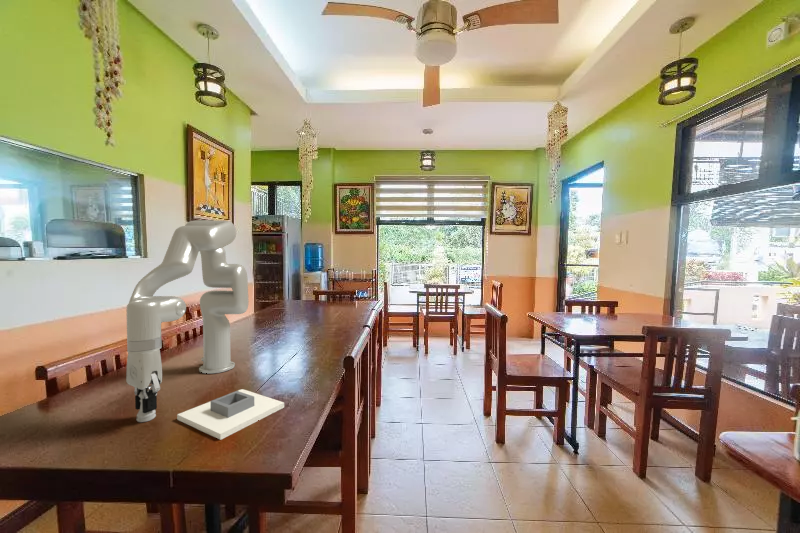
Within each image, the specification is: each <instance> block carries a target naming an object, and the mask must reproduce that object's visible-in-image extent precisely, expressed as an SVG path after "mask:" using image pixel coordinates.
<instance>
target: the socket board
mask: <svg viewBox="0 0 800 533" xmlns="http://www.w3.org/2000/svg"><path fill="white" fill-rule="evenodd" d="M283 408H285V402H284V401H281V400H277V399H274V398H271V397H268V396H265V395H263V394H262V395H261V394H259V393H256V392H253V391H250V390H247V389H243V388H242V389H238V390H236V391H233V392H230V393H228V394H225V395H223V396H220V397H217V398H215V399H212V400H210V401H207V402H206V403H203V404H200V405H198V406H195V407H192V408H190V409H187V410H185V411H182V412H180V413H176V414H177V415H176V417H177V418H176V419H177V421H179V422H180V423H181V422H182V423H184V424H185V425H187V426H190V427H192V428H194V429H196V430H198V431H200V432H203V433H205V434H207V435H209V436H211V437H213V438H215V439H216V438H217V439H218V440H221V441H222V440H223V439H225V438H227V437H229V436H231V435H233V434H235V433H237V432H239V431H241V430H243V429H245V428H247V427H248V426H251V425H253V424H255V423H256V422H259V421H261V420H263V419H264V418H266V417H268V416H270V415H273V414H274V413H276V412H278V411H280V410H282V409H283ZM258 420H259V421H258Z"/></svg>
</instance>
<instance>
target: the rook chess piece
mask: <svg viewBox="0 0 800 533" xmlns="http://www.w3.org/2000/svg"><path fill="white" fill-rule="evenodd" d="M151 389H152V388H150V389H148V391H149V390H151ZM139 397H140V398H141V400H140V402H141V405H140V409H138V412H137V414H136V420H135V421H137V423H147V422H150V421H152V420H154V419H155V418H156V417H157V414H156V412H157V411H156V409H155V410H153V411H150V412H147V413H143V408H142V399H144V392H143V390H142V391H141V392H140V394H139Z"/></svg>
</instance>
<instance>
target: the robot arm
mask: <svg viewBox="0 0 800 533" xmlns="http://www.w3.org/2000/svg"><path fill="white" fill-rule="evenodd" d="M236 236H237V229H236V225H235V224H234V223H233V222H232V221H228V220H205V219H203V220H202V219H198V220H190V221H188V222H187V223H185V224H184V225H182V226H179V227H177V228H176V229H175V230H174V231H173V234H172V236H171V240H170V241H169V244H168V247H167V250H166V252H165V254H164V257H163V260H162V262H161V263H160V264H159V265H157V266H156V267H154V268H153V269H152V270H150V271H149V272H148V273H147V274H145V275H144V276H143V277H142V278H141V279H140V280H139V281H138V282H137V284H136V285H135V287H134V289H133V291H132V294H131V297H130V298H129V301H128V303H127V305H126V344H127V345H126V346H127V347H126V350H127V351H126V352H127V357H126V358H127V359H126V376H125V377H126V378H125V379H126V380H125V381H126V383H127V385H129V386H130V387H131V386H132V387H133V388H134V391H133V392H134V398H135V401H134V402H135V404H134V405H135V410H136V411H139V410H140V405H141V402H140V400H141V398H140V397H139V394H140V392H141V391H142V390H143V392H144V399H142V408H143V413H147V412H150V411H153V410H155V411H156V410H157V409H158V405H157V403H158V401H157V400H158V399H157V398H158V392H159V391H161V384H162V382H163V365H162V356H161V350H160V349H162V345H163V344H162V323H167V322H168V323H169V322H175V321H177V320H179V319H181V318H182V317H183V316H184V315H185V313H186V312H187V303H186V302H185V301H184V299H183V298H181V297H178V296H174V295H173V296H172V295H171V296H170V295H169V296H168V295H166V296H165V295H163V296H162V295H161V296H160V295H155V293H156V292H157V290H159V289H160V288H161V287H163V286H164V285H166V284H168V283H170V282H173V281H175V280H178V279H180V278H185V277H186V276H188V275H190V274H191V273H192V272H193V270H194V267H195V263H196V261H197V257H198V254H200V260H201V273H202V282H203V284H204V286H206V287H208V288H212V289H213V288H216V289H217V288H218V289H221V288H222V289H223V288H224V289H225V288H228V289H231V290H208V291H206V292H204V293H203V294H201V296H200V298H199V307H200V308H199V309H200V311H201V316H202V331H203V332H202V333H203V334H202V335H203V336H202V337H203V340H202V341H203V342H202V343H203V345H202V347H203V356H202V357H201V358H200V360H201V362H203V365H201V366H200V367H199V368H198V371H199V373H201V372H202V373H201V374H206V373H207V374H209V375H210V374H220V373H223V372H227V371H230V370H232V369H233V368H235V365H236V363H235V362H234V361H232V360H231V323H230V320H229V319H228V317H227V316H226V315H242V314H245V313H246V312H247V311H248V309H249V308H248V307H249V302H250V301H249V285H248V283H249V282H248V272H247V269H246V267H244V266H243V265H242V264H240V263H239V264H238V263H227V258H226V257H227V256H226V255H227V254H226V250H225V247H226V246H229V245H230V244H232V243H233V242H234V240H236ZM148 389H151V390H149V391H148Z"/></svg>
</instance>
